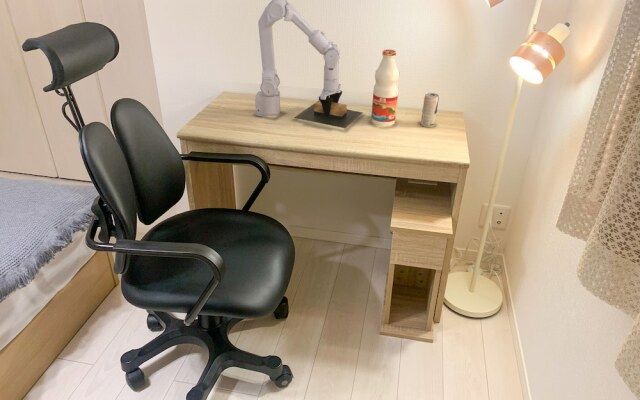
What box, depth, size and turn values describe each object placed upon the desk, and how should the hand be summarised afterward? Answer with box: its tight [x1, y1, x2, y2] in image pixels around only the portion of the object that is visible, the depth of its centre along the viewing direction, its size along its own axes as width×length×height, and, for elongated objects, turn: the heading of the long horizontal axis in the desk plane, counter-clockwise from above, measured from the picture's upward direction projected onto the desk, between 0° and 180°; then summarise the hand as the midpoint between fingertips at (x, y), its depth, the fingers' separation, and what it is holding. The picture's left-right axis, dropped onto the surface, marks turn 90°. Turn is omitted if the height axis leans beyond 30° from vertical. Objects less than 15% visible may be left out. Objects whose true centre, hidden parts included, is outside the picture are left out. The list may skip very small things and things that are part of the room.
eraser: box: [313, 99, 348, 119], centre depth 190 cm, size 12×5×4 cm, turn 64°
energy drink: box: [420, 92, 440, 128], centre depth 184 cm, size 5×5×12 cm
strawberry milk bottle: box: [370, 49, 400, 126], centre depth 180 cm, size 9×9×28 cm
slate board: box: [294, 103, 364, 129], centre depth 191 cm, size 22×18×1 cm
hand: (330, 111), depth 191 cm, fingers open, 6 cm apart
